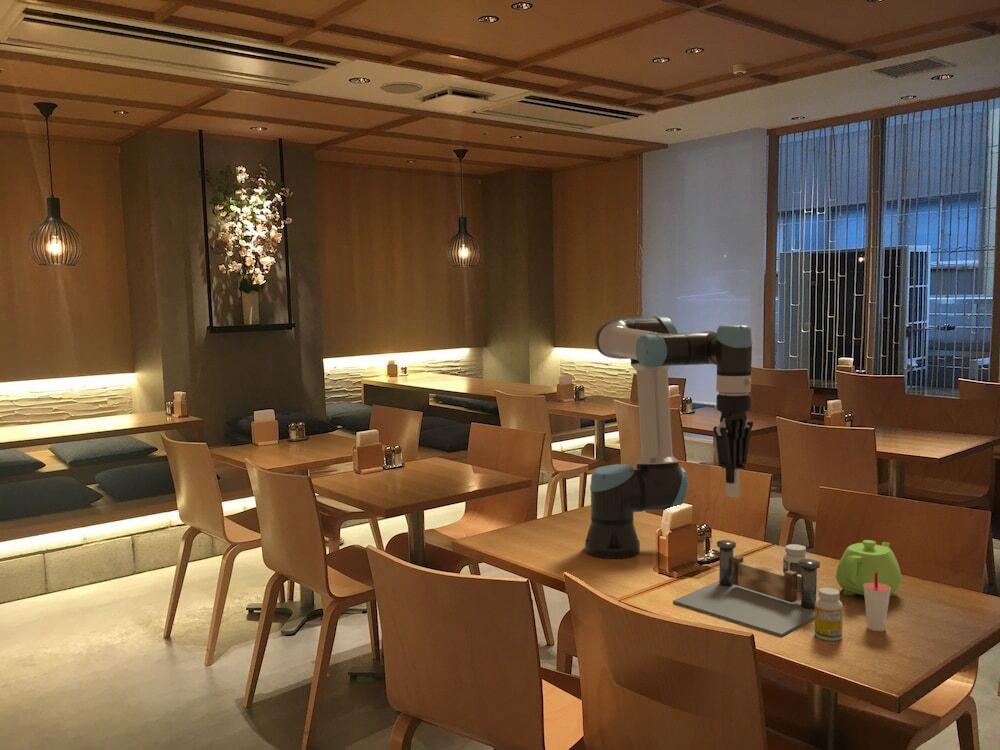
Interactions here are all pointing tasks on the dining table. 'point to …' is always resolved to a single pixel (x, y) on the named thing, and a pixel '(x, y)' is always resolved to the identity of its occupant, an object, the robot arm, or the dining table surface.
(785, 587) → the wooden block
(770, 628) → the base board
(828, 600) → the supplement bottle
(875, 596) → the cup
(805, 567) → the post
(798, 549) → the pill bottle
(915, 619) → the dining table surface
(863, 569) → the teapot
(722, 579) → the hinge post
